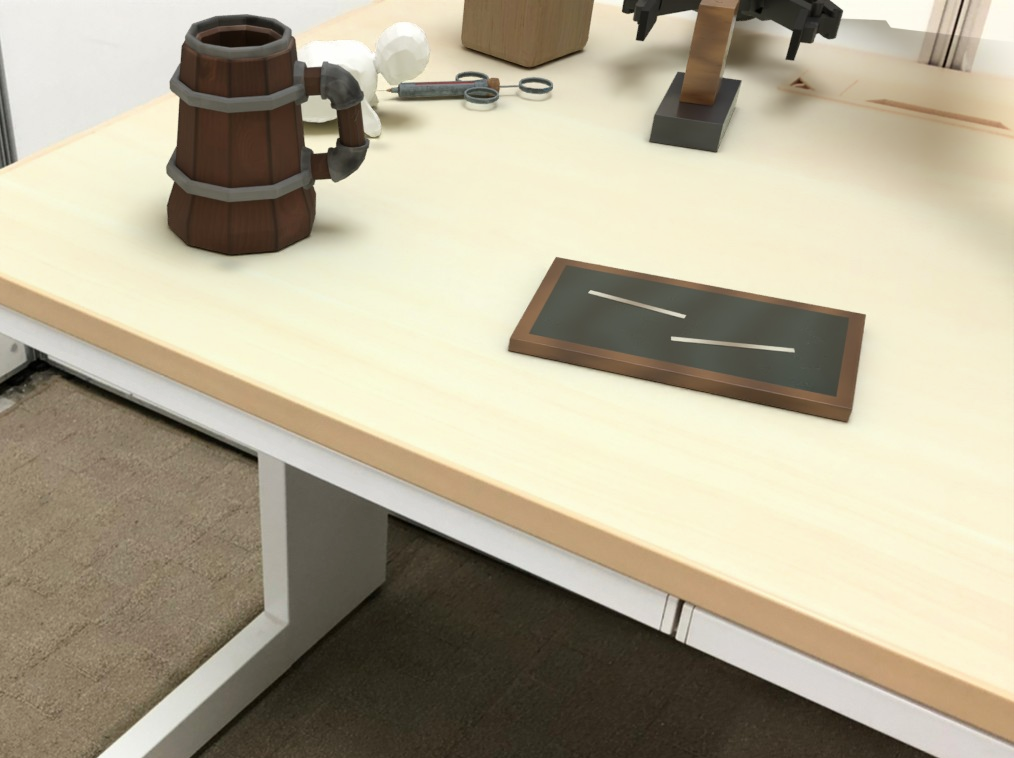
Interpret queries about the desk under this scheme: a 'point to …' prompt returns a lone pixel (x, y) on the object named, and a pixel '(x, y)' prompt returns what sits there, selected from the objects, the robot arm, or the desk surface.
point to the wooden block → (526, 28)
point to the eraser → (701, 84)
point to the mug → (253, 136)
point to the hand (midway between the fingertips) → (716, 35)
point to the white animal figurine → (368, 68)
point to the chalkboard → (695, 337)
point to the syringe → (467, 87)
